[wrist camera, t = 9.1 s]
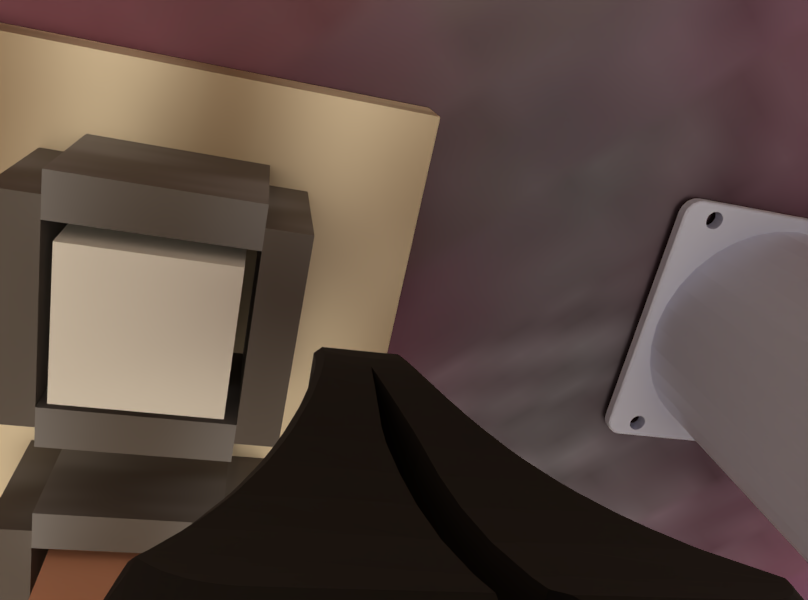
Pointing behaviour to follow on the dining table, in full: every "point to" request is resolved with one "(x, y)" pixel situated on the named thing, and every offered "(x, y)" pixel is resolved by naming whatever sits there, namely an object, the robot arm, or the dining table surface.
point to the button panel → (192, 221)
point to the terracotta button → (78, 574)
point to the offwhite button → (142, 322)
